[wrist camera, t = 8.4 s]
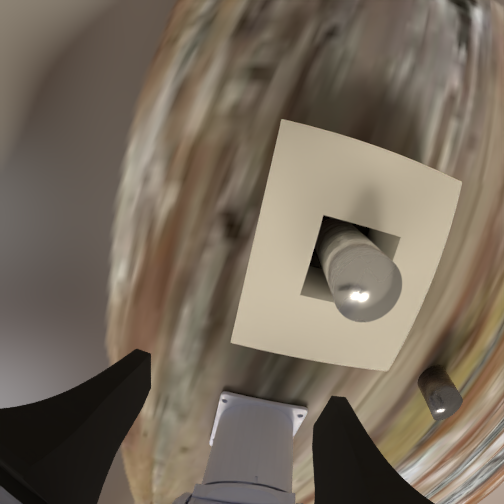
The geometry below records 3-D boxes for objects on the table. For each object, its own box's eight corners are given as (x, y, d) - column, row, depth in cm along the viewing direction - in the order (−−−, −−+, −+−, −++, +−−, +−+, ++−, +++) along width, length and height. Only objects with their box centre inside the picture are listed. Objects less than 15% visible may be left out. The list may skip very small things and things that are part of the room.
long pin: (349, 266, 19) (386, 327, 11) (308, 256, 19) (323, 315, 11) (362, 224, 18) (412, 264, 10) (320, 212, 18) (347, 246, 10)
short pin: (434, 389, 21) (449, 419, 17) (412, 388, 21) (426, 420, 17) (449, 366, 20) (468, 395, 16) (427, 364, 21) (445, 396, 16)
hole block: (369, 330, 20) (387, 371, 15) (242, 303, 20) (230, 342, 16) (422, 176, 16) (462, 182, 12) (282, 131, 17) (281, 119, 12)
